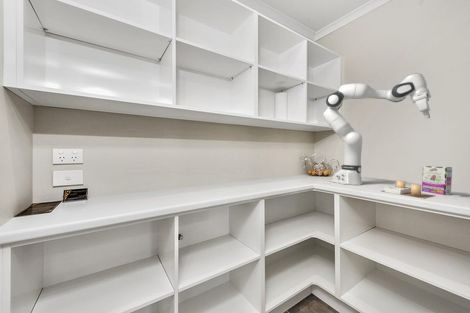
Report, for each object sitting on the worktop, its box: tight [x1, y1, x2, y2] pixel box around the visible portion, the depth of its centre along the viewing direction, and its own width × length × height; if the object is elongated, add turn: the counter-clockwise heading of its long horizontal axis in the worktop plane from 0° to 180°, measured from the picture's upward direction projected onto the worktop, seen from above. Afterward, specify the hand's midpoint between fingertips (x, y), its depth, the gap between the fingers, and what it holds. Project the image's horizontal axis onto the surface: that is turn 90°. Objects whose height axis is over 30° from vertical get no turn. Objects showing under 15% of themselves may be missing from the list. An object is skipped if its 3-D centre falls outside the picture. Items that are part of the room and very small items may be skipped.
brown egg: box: [410, 183, 422, 197], centre depth 103 cm, size 4×4×6 cm
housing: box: [384, 180, 411, 195], centre depth 112 cm, size 8×14×6 cm, turn 118°
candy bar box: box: [421, 165, 453, 196], centre depth 111 cm, size 11×5×16 cm, turn 13°
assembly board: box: [381, 189, 436, 200], centre depth 109 cm, size 20×15×1 cm
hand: (427, 118), depth 122 cm, fingers open, 8 cm apart
